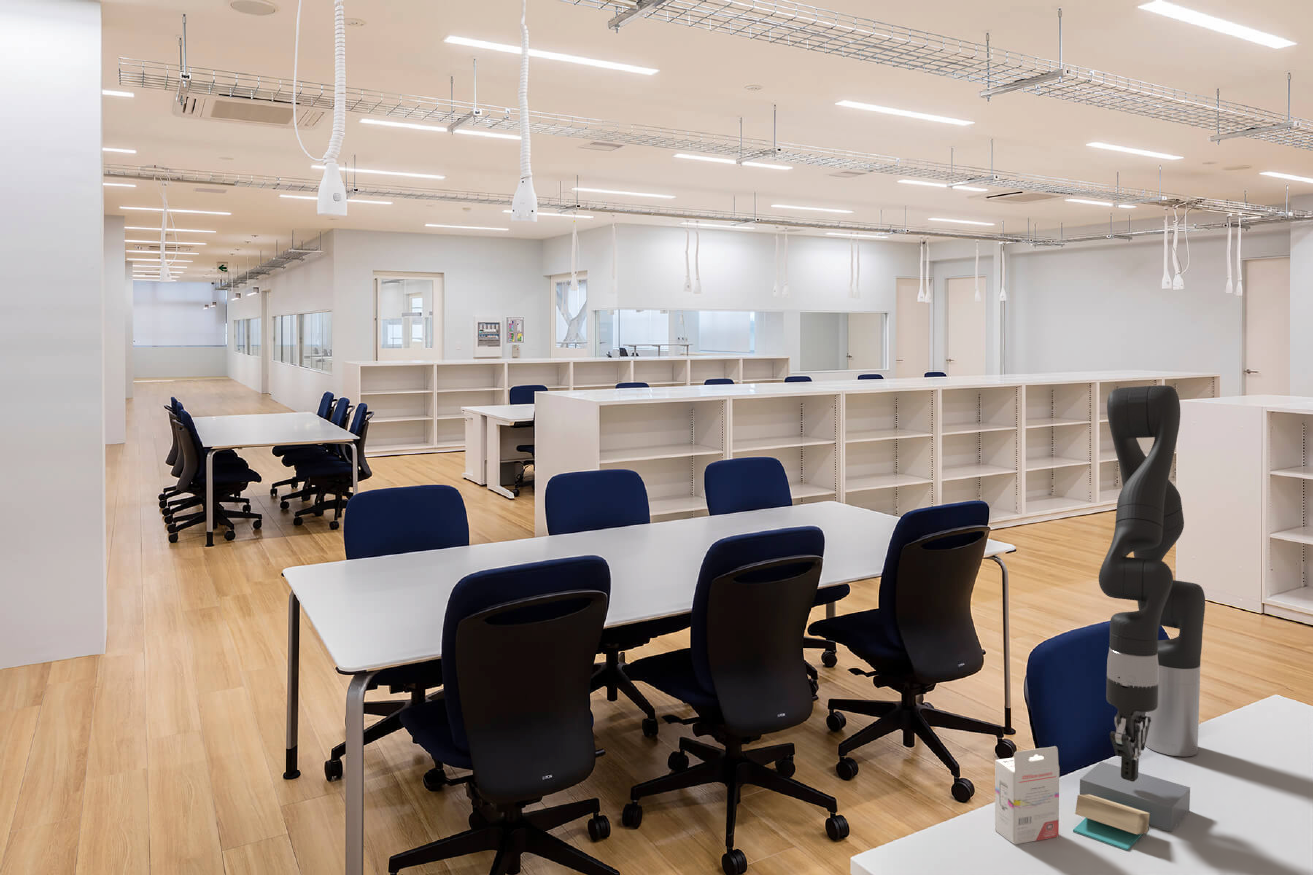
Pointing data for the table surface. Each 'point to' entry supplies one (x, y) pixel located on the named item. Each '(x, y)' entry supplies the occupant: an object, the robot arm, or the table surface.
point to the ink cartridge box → (1027, 795)
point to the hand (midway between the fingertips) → (1129, 778)
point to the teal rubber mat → (1106, 833)
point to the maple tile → (1112, 814)
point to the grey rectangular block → (1139, 794)
